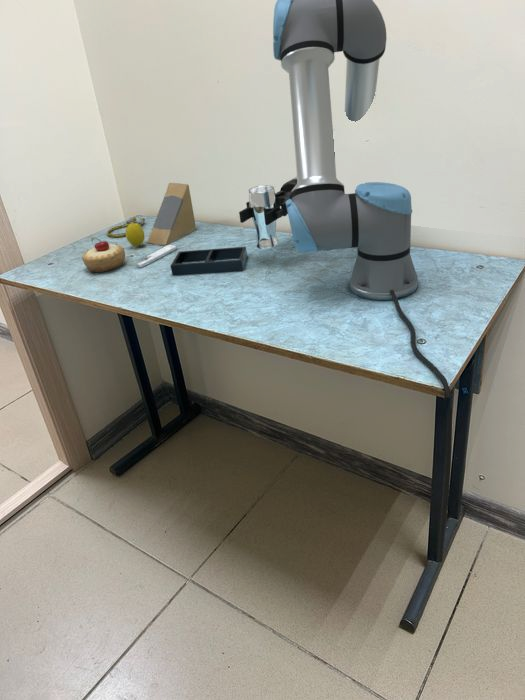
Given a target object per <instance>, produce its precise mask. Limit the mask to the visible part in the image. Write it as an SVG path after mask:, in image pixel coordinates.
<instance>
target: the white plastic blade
mask: <svg viewBox="0 0 525 700" xmlns="http://www.w3.org/2000/svg"><path fill="white" fill-rule="evenodd" d="M177 249H178V247H177V245H174V244H172V245H171V244H167V245H164V246H163V247H162V248H160V249H158V250H156V251H154V252H152V253H150V254H147V255H146V256H144V257H142V258H141V260H143V261H140V262H138V263H137V265H136V266H137V267H138V268H144V267H145V266H147V265H149V264H151V263H153V262H154V261H157V260H159V259H161V258H163V257H165V256H167V255H168V254H170V253H173V251H176V250H177ZM144 259H145V260H144Z"/></svg>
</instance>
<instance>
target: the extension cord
mask: <svg viewBox="0 0 525 700" xmlns="http://www.w3.org/2000/svg"><path fill="white" fill-rule="evenodd" d="M136 221H137V217H135V216H132V217H130V218H128V219H127V221H126V222H125V223H124V224H122V225H121V224H120V225H116V226H113V227H111V228H110V229H108V230H107V232H106V234H107V235H108V236H109V237H110V238H122V237H126V232H122V233H113V234H112V233H111V232H112V231H115V230H117V229H122V228H123V229H124V228H127V226H128V225H129V224H131V222H133V223H136ZM145 221H146V219H145V218H143V217H140V218H139V220H138V224H139V225H140V226H143V225H144V223H145Z"/></svg>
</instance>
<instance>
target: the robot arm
mask: <svg viewBox="0 0 525 700" xmlns="http://www.w3.org/2000/svg"><path fill="white" fill-rule="evenodd" d="M272 23H273V24H272V36H273V37H272V40H273V41H272V49H273V51H272V52H273V58H274V59H275V60H278V61H280V66H281V68H282V69H283V71H284V72H286V73H287V74H288V78H289V79H288V81H289V91H290V92H289V93H290V105H291V117H292V118H291V119H292V131H293V142H294V143H293V144H294V157H295V166H296V176H295V177H294V178H292V179H290V180H288V181H286V182H285V183H283V185H282V186H281V187H280V189H279V191H277V192H275V196H276V203H277V207H275V208H274V209H272V210H270V211H269V212H267V213H265V214H264V217H265V225H269V224H270V223H272V222H274V221H275V220H276V221H277V220H278V219H280V218H282V217H286V216H287V217H288V220H289V225H290V231H291V235H292V239H293V244H294V247H295V249H296V250H297V251H298V252H300V253H313V252H314V253H319V252H324V251H325V252H326V251H333V250H343V249H354V248H355V249H357V256H356V260H355V263H354V266H353V269H352V272H351V276H350V279H349V283H350V285H349V286H350V290H351V292H352V293H353V294H355V295H356V296H358V297H361V298H364V299H367V300H374V301H393V303H394V306H395V309H396V311H397V313H398V315H399V316H400V318H401V319H402V321H403V322H404V323H405V325H406V326H407V327H408V330H409V332H410V347H411V349H412V352H413V354H414V355H415V357H417V359H419V360H420V361H421V363H423V364H424V365H426V367H428V368H429V369H430V370H431V371H432V373H433V374H434V375H435V376H436V377H437V378H438V380H439V381H440V382H441V385H442V386H443V390H444V394H445V397H446V398H452V393H451V392H452V391H451V388H450V386H449V382H448V380H447V378H446V377H445V375H444V374H443V373H442V372H441V371H440V370H439V369H438V367H437V366H436V365H435V364H433V363H432V362H431V361H430V360H429V359H428V358H426V357H425V355H423V354H422V353H421V352H420V350H419V348H418V347H417V342H416V329H415V327H414V325H413V323H412V322H411V321H410V319H409V318H408V317H407V315H406V314H405V313H404V311H403V309H402V308H401V305H400V301H399V300H398V299H401V298H405V297H408V296H409V295H411V294H413V293H414V292H415V291H416V290H417V288H418V281H419V280H418V274H417V271H416V268H415V264H414V262H413V259H412V256H411V238H412V237H411V233H412V232H411V231H412V214H413V207H412V195H411V193H410V191H409V190H408V189H407V188H405V187H404V186H403V185H398V184H395V183H390V182H383V181H381V182H380V181H368V182H365V183H360V184H358V185H357V186H356V187H355V190H354V192H353V193H345V185H344V183H342V182H341V181H340V180H339V179H338V177H337V168H336V166H337V165H336V158H335V152H334V139H333V130H334V128H333V114H332V113H333V112H332V102H331V101H332V100H331V87H330V75H329V73H330V71H329V68H330V67H331V66H332V64H333V63H334V62H335V59H336V57H335V56H336V55H335V53H340V52H341V53H342V54H343V56H344V57H345V59H346V66H345V67H346V68H345V91H344V93H345V94H344V112H346V116H347V117H348V119H349V120H351V121H355V122H356V121H358V120H360V119H361V118H362V117H363V116H364V115H365V114H366V112H367V111H368V109H369V108H370V106H371V104H372V102H373V99H374V96H375V97H376V94H375V92H376V93H377V86H378V77H379V67H380V60H381V58H382V57H383V56H384V55H385V52H386V45H387V40H388V39H387V27H386V22H385V19H384V17H383V14H382V12H381V10H380V9H379V6H377V4H376V3H375V2H374V0H276V2H275V5H274V9H273V21H272ZM245 204H246V208H244V209H242V210H240V211H239V212H238V214H239V215H238V216H239V222H240V223H245V222H247V221H249V220H250V219H252V216H251V212H250V205H249V201H247V202H246V203H245ZM445 443H446V445H445V447H446V449H445V468H444V470H445V471H444V483H443V496H442V506H441V507H442V508H441V519H440V529H439V541H438V551H437V553H438V554H437V561H438V563H442V562H443V557H444V545H445V536H446V526H447V525H446V524H447V515H448V505H449V496H450V495H449V494H450V484H451V483H450V482H451V472H452V471H451V469H452V448H453V447H452V444H453V408H447V409H446V442H445Z"/></svg>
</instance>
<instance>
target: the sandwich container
mask: <svg viewBox="0 0 525 700" xmlns="http://www.w3.org/2000/svg"><path fill="white" fill-rule="evenodd" d="M194 214H195V213H194V208H193V202H192V197H191V191H190V185H189V184H187V183H179V182H168V184H167V187H166V191H165V193H164V196H163V199H162V202H161V205H160V207H159V210H158V212H157V215H156V218H155V221H154V223H153V226H152V229H151V231H150V234H149V237H148V239H147V241H146V243H148V244H152V245H160V246H167V245H170V244H171V243H173V242H175V241H177V240H179V239H181V238H183V237H185V236H187V235H188V234H191V233H193V232H194V231H196V230H197V226H196V225H197V224H196V220H195V215H194Z"/></svg>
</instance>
